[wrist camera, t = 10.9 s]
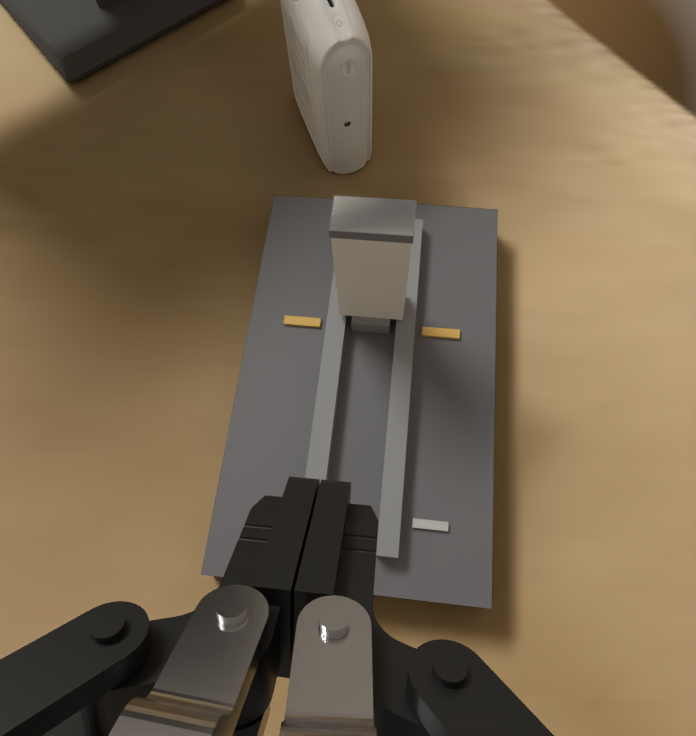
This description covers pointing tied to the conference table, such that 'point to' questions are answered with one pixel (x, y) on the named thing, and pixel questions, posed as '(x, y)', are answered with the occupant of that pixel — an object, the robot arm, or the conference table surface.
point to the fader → (371, 258)
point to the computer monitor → (97, 28)
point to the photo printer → (332, 78)
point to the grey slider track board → (374, 400)
